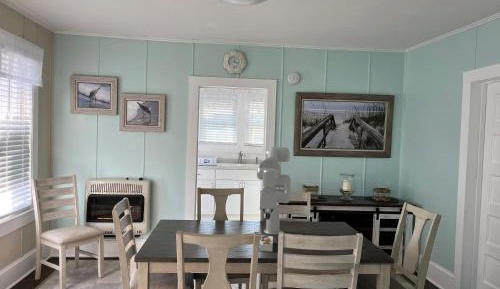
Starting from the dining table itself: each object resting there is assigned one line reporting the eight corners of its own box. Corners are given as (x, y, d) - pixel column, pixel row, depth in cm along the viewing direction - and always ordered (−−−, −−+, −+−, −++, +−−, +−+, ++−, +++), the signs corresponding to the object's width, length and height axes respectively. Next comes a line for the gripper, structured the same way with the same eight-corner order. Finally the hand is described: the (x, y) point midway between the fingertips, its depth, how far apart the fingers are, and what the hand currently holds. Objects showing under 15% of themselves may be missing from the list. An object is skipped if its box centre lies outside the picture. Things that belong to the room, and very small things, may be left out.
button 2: (263, 242, 239) (264, 237, 239) (270, 243, 239) (270, 237, 238) (263, 244, 235) (263, 239, 235) (270, 245, 235) (270, 239, 235)
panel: (257, 241, 253) (257, 235, 253) (272, 242, 253) (272, 236, 252) (256, 250, 234) (256, 244, 234) (272, 251, 234) (272, 245, 234)
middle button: (261, 239, 246) (262, 234, 245) (268, 239, 245) (268, 234, 245) (261, 241, 242) (261, 236, 241) (267, 241, 241) (268, 236, 241)
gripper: (280, 189, 239) (279, 218, 239) (256, 188, 240) (255, 217, 240) (280, 191, 231) (279, 221, 232) (256, 190, 232) (255, 220, 233)
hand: (267, 219), depth 236 cm, fingers closed
